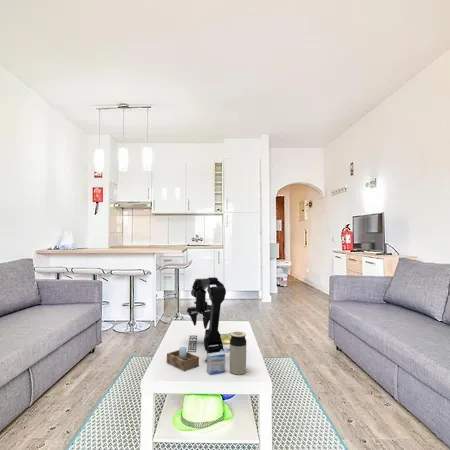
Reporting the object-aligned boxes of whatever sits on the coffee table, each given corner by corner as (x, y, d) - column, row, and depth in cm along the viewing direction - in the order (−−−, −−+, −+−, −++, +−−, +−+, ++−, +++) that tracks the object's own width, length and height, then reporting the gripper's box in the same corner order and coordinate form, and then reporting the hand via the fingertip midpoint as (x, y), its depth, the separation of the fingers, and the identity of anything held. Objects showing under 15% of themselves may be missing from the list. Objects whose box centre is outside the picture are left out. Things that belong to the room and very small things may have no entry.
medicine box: (209, 375, 146) (210, 356, 147) (206, 371, 150) (206, 353, 151) (225, 372, 149) (225, 354, 150) (221, 368, 153) (221, 350, 154)
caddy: (198, 366, 156) (199, 356, 156) (184, 371, 150) (184, 361, 150) (180, 357, 166) (181, 349, 167) (166, 362, 160) (166, 353, 160)
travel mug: (231, 375, 146) (232, 336, 147) (227, 368, 154) (228, 331, 154) (248, 374, 148) (248, 335, 149) (243, 367, 155) (243, 330, 156)
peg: (187, 364, 158) (187, 348, 158) (181, 366, 156) (182, 350, 156) (183, 362, 161) (183, 346, 161) (177, 364, 158) (177, 348, 158)
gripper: (221, 300, 183) (221, 327, 182) (200, 296, 196) (200, 321, 195) (207, 303, 175) (207, 331, 174) (186, 298, 188) (186, 324, 187)
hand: (200, 327), depth 183 cm, fingers open, 9 cm apart
